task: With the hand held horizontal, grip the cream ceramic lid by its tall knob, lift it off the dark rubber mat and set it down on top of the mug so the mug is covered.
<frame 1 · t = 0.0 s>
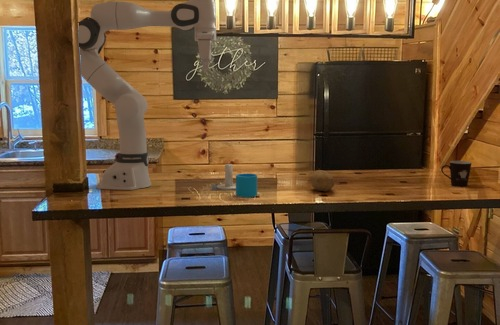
hand: (205, 71, 218), 48 cm above the bar counter, tool pointing down, fingers open, 8 cm apart
potato: (322, 191, 214), on the bar counter
lid: (228, 187, 219), resting on mat
mat: (228, 188, 219), on the bar counter
coffee mug: (455, 185, 227), on the bar counter
mug: (246, 195, 207), on the bar counter
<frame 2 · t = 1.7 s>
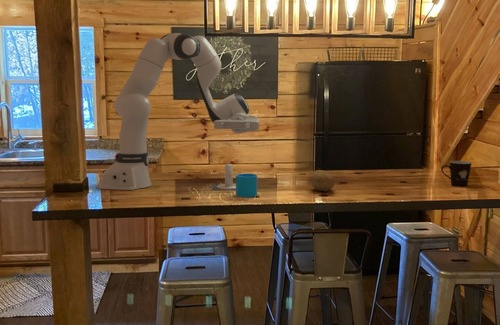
hand: (233, 126, 227), 25 cm above the bar counter, tool horizontal, fingers open, 8 cm apart
nothing on the bar counter moved.
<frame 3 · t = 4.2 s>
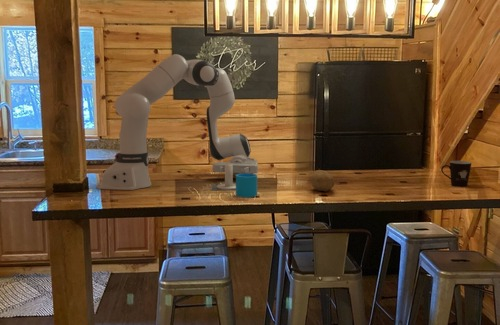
hand: (232, 170, 228), 6 cm above the bar counter, tool horizontal, fingers open, 8 cm apart
nothing on the bar counter moved.
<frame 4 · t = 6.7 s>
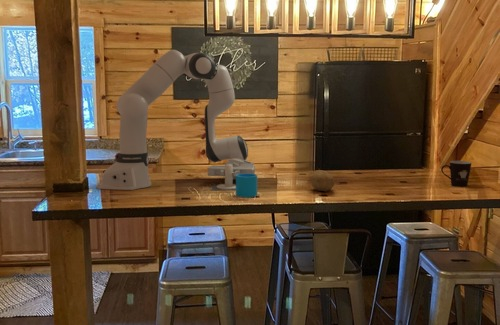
hand: (228, 174, 217), 6 cm above the bar counter, tool horizontal, fingers closed on lid, 3 cm apart
lid: (228, 187, 219), resting on mat, touching gripper
everything else where it was.
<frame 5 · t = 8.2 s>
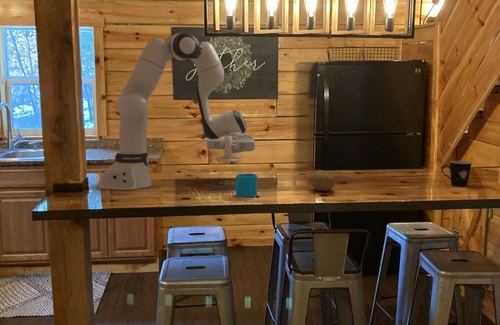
hand: (227, 146, 216), 17 cm above the bar counter, tool horizontal, fingers closed on lid, 3 cm apart
lid: (228, 160, 217), point 12 cm above the bar counter, touching gripper
everything else where it was.
when the fingers open (15 cm above the bar counter, at t = 9.9 s): lid drops 1 cm, resting on mug.
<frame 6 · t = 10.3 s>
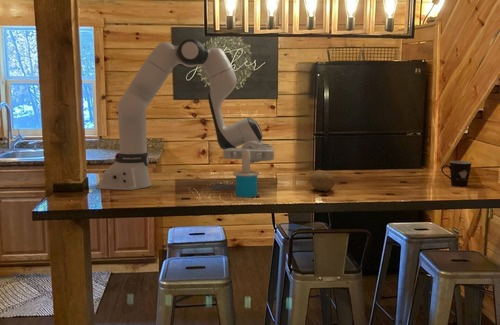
hand: (246, 156, 203), 15 cm above the bar counter, tool horizontal, fingers open, 6 cm apart
lid: (246, 174, 205), point 8 cm above the bar counter, touching mug
mug: (246, 195, 207), on the bar counter, touching lid
everything else where it was.
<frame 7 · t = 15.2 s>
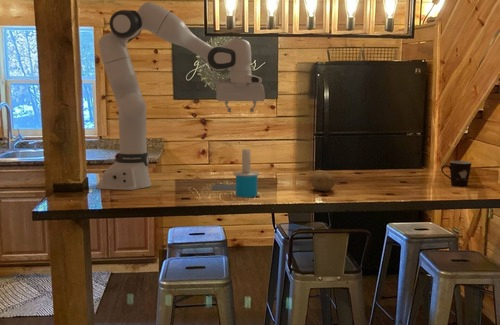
hand: (240, 112, 221), 31 cm above the bar counter, tool pointing down, fingers open, 8 cm apart
nothing on the bar counter moved.
at the end: lid inside the target area on the mug (0.2 cm from its centre), point 8.4 cm above the mug's base; lid tilted 0°; the gripper is holding nothing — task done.
